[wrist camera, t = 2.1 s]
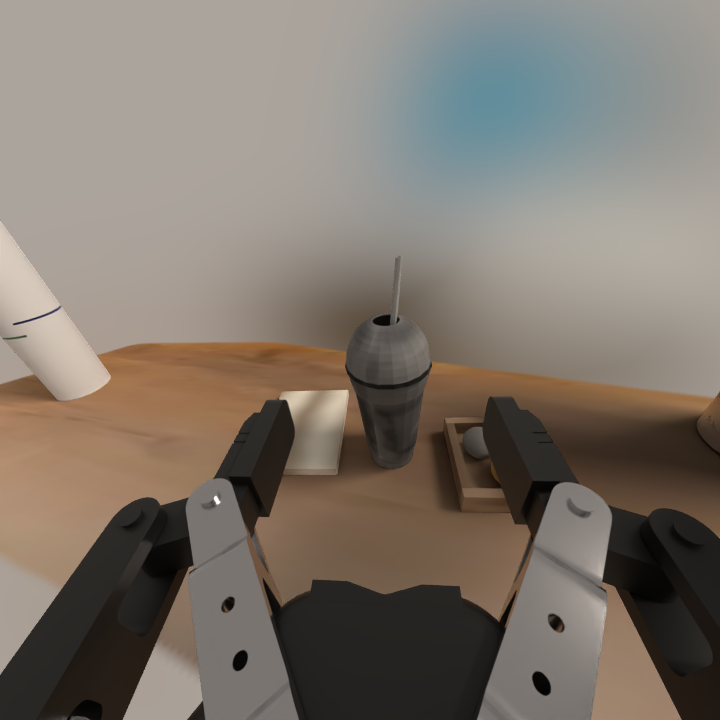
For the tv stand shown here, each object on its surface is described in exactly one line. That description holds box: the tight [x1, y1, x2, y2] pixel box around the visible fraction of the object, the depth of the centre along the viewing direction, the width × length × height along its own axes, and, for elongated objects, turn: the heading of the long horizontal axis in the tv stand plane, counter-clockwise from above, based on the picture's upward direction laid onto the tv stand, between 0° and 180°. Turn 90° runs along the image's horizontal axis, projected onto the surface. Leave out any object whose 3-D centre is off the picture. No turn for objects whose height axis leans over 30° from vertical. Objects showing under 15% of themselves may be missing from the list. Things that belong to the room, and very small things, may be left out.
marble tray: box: [443, 417, 510, 512], centre depth 27 cm, size 9×9×4 cm
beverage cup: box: [345, 256, 432, 469], centre depth 25 cm, size 7×7×20 cm
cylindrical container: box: [0, 221, 111, 401], centre depth 40 cm, size 7×7×25 cm
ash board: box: [279, 390, 349, 475], centre depth 34 cm, size 9×12×1 cm
